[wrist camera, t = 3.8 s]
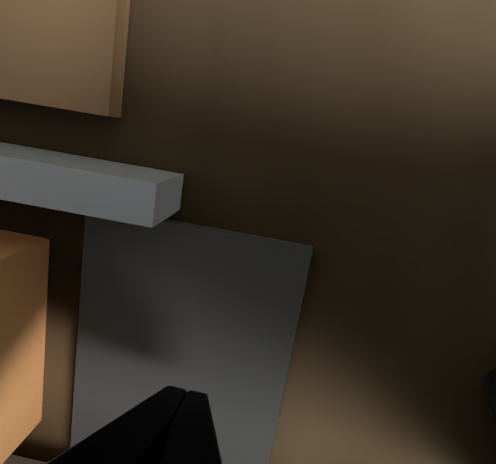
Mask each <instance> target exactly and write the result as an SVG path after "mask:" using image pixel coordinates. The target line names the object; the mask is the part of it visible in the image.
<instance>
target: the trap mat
mask: <svg viewBox="0 0 496 464" xmlns="http://www.w3.org/2000/svg"><path fill="white" fill-rule="evenodd" d="M312 252H313V246H312V245H307V244H302V243H296V242H291V241H285V240H280V239H274V238H269V237H263V236H258V235H253V234H247V233H242V232H236V231H231V230H225V229H220V228H214V227H209V226H204V225H198V224H193V223H187V222H182V221H176V220H171V219H165V220H163V221H162V222H160V223H159V224H157V225H156V226H154V227H153V228H151V227H146V226H140V225H135V224H130V223H124V222H119V221H113V220H108V219H103V218H97V217H92V216H86V215H85V226H84V241H83V257H82V272H81V288H80V303H79V319H78V334H77V350H76V365H75V381H74V396H73V412H72V427H71V443H70V448H71V447H72V446H74V445H75V444H77V443H79V442H80V441H82V440H83V439H85V438H86V437H88V436H90V435H91V434H93V433H94V432H96V431H97V430H99V429H100V428H102V427H104V426H105V425H107V424H108V423H110V422H111V421H113V420H114V419H116V418H118V417H119V416H121V415H122V414H124V413H125V412H127V411H129V410H130V409H132V408H133V407H135V406H136V405H138V404H139V403H141V402H143V401H144V400H146V399H147V398H149V397H150V396H152V395H153V394H155V393H157V392H158V391H160V390H161V389H163V388H164V387H166V386H175V387H179V388H184V389H186V390H187V392H188V391H189V390H193V391H198V392H202V393H206V394H207V395H208V398H209V403H210V407H211V412H212V417H213V422H214V426H215V431H216V436H217V440H218V445H219V450H220V454H221V459H222V464H269V461H270V456H271V451H272V446H273V441H274V437H275V432H276V427H277V422H278V417H279V412H280V408H281V403H282V398H283V393H284V388H285V383H286V378H287V374H288V369H289V364H290V359H291V354H292V349H293V345H294V340H295V335H296V330H297V325H298V320H299V315H300V311H301V306H302V301H303V296H304V291H305V286H306V282H307V277H308V272H309V267H310V262H311V257H312Z"/></svg>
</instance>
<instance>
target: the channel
mask: <svg viewBox="0 0 496 464" xmlns="http://www.w3.org/2000/svg"><path fill="white" fill-rule="evenodd" d="M183 178H184V174H182V173H176V172H170V171H164V170H159V169H153V168H147V167H142V166H136V165H130V164H124V163H119V162H113V161H107V160H102V159H96V158H90V157H84V156H79V155H73V154H67V153H62V152H56V151H50V150H44V149H39V148H33V147H27V146H22V145H16V144H10V143H4V142H0V200H6V201H11V202H16V203H22V204H27V205H33V206H38V207H43V208H49V209H54V210H60V211H65V212H70V213H76V214H81V215H86V216H92V217H97V218H103V219H108V220H113V221H119V222H124V223H130V224H135V225H140V226H146V227H151V228H153V227H154V226H156V225H157V224H159V223H160V222H162V221H163V220H165V219H166V218H168V217H170V216H171V215H173V214H174V213H176V212H177V211H179V210H180V203H181V195H182V186H183ZM46 463H47V462H43V461H38V460H34V459H30V458H25V457H21V456H17V455H13V454H11V455H10V456H9V457H8V458H7V459H6V460H5V462H4V463H3V464H46Z"/></svg>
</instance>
